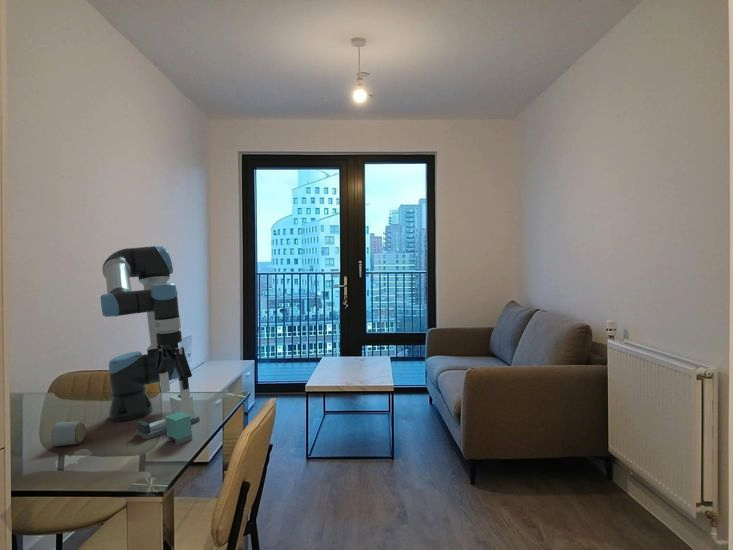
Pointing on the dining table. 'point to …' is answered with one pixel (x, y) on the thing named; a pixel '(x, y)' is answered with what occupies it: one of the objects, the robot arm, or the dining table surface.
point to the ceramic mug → (68, 433)
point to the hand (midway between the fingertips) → (175, 395)
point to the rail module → (178, 427)
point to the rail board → (160, 426)
